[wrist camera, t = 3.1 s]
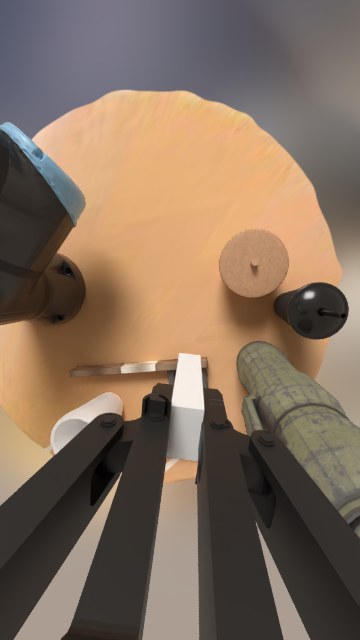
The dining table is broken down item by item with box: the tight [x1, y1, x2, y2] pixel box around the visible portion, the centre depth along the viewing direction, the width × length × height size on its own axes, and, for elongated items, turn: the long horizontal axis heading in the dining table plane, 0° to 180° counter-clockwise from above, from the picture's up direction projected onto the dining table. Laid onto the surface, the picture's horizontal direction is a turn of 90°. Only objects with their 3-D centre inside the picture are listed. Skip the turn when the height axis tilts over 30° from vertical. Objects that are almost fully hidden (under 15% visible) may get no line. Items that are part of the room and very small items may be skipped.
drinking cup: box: [274, 282, 349, 339], centre depth 36 cm, size 8×8×20 cm
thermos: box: [236, 341, 360, 538], centre depth 31 cm, size 9×12×35 cm
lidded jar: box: [219, 229, 289, 298], centre depth 42 cm, size 11×11×9 cm
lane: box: [69, 357, 208, 388], centre depth 50 cm, size 28×18×3 cm, turn 96°
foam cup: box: [50, 392, 124, 455], centre depth 47 cm, size 10×9×13 cm
